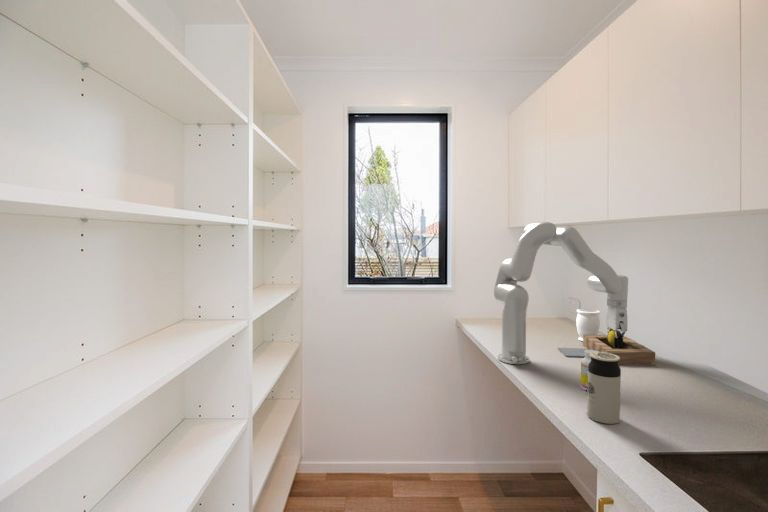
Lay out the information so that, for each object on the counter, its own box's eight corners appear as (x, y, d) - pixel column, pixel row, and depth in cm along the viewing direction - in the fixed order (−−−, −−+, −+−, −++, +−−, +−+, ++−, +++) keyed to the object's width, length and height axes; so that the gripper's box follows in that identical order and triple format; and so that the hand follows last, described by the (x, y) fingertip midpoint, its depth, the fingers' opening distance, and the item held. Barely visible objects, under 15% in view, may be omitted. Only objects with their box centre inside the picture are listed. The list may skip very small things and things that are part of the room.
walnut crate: (654, 365, 156) (655, 352, 156) (606, 363, 158) (607, 350, 158) (624, 347, 182) (624, 335, 181) (583, 345, 184) (583, 334, 184)
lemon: (619, 346, 172) (620, 328, 171) (624, 349, 166) (624, 331, 166) (605, 345, 173) (606, 327, 173) (609, 348, 168) (610, 329, 168)
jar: (575, 336, 200) (576, 307, 200) (598, 339, 196) (599, 309, 195) (575, 341, 191) (576, 311, 190) (599, 344, 186) (600, 313, 186)
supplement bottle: (592, 384, 136) (592, 348, 135) (607, 391, 130) (608, 353, 129) (575, 386, 134) (576, 349, 134) (590, 394, 128) (591, 355, 127)
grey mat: (595, 358, 166) (595, 356, 166) (566, 356, 167) (566, 355, 167) (585, 349, 177) (585, 348, 177) (557, 348, 179) (557, 347, 179)
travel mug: (615, 414, 113) (617, 352, 112) (622, 426, 106) (624, 361, 105) (585, 410, 116) (586, 350, 115) (589, 422, 108) (591, 358, 108)
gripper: (636, 307, 160) (634, 351, 161) (617, 301, 177) (615, 340, 178) (616, 306, 161) (614, 350, 162) (599, 300, 178) (597, 339, 179)
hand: (614, 344), depth 170 cm, fingers closed on lemon, 5 cm apart
